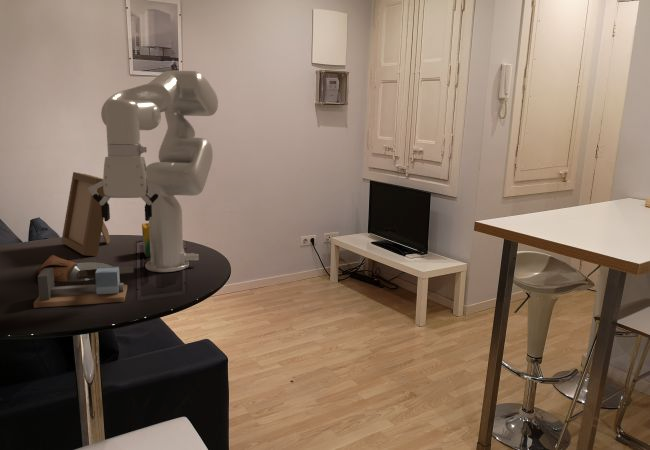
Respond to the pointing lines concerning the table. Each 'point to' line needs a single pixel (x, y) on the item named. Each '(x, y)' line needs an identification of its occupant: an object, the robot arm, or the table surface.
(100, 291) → the grey slider block
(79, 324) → the table surface
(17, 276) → the table surface
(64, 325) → the table surface
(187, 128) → the robot arm
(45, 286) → the dark grey slab
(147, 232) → the crayon box
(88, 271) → the smartphone
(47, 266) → the sunglasses case
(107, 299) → the rail board
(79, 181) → the photo frame
